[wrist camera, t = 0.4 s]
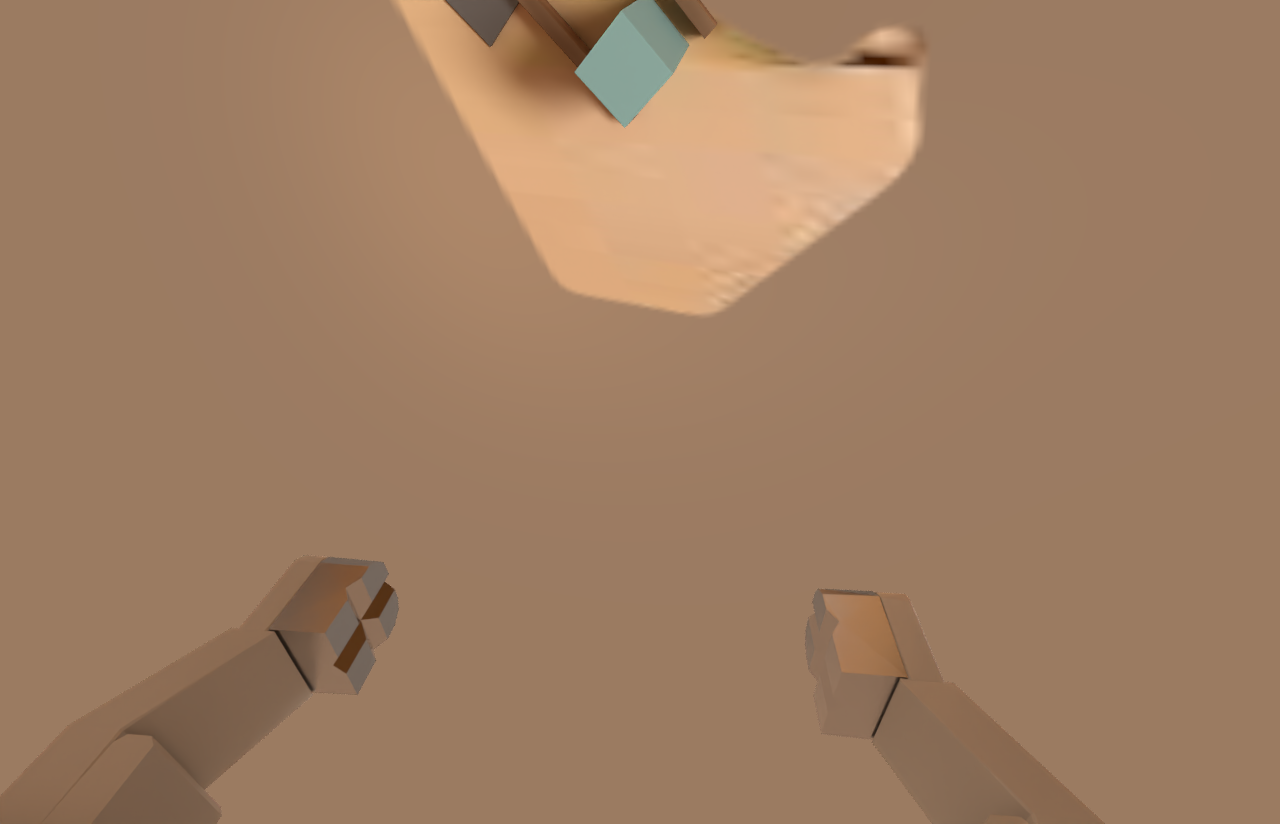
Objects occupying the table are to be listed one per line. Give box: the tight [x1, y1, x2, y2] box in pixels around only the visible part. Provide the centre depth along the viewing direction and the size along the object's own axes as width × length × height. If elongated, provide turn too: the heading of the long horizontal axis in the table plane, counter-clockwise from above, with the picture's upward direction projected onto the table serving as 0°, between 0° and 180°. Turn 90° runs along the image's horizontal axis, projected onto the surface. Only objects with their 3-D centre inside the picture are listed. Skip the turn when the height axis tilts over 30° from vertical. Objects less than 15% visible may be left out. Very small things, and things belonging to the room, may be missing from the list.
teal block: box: [575, 0, 689, 128], centre depth 42 cm, size 5×5×12 cm
